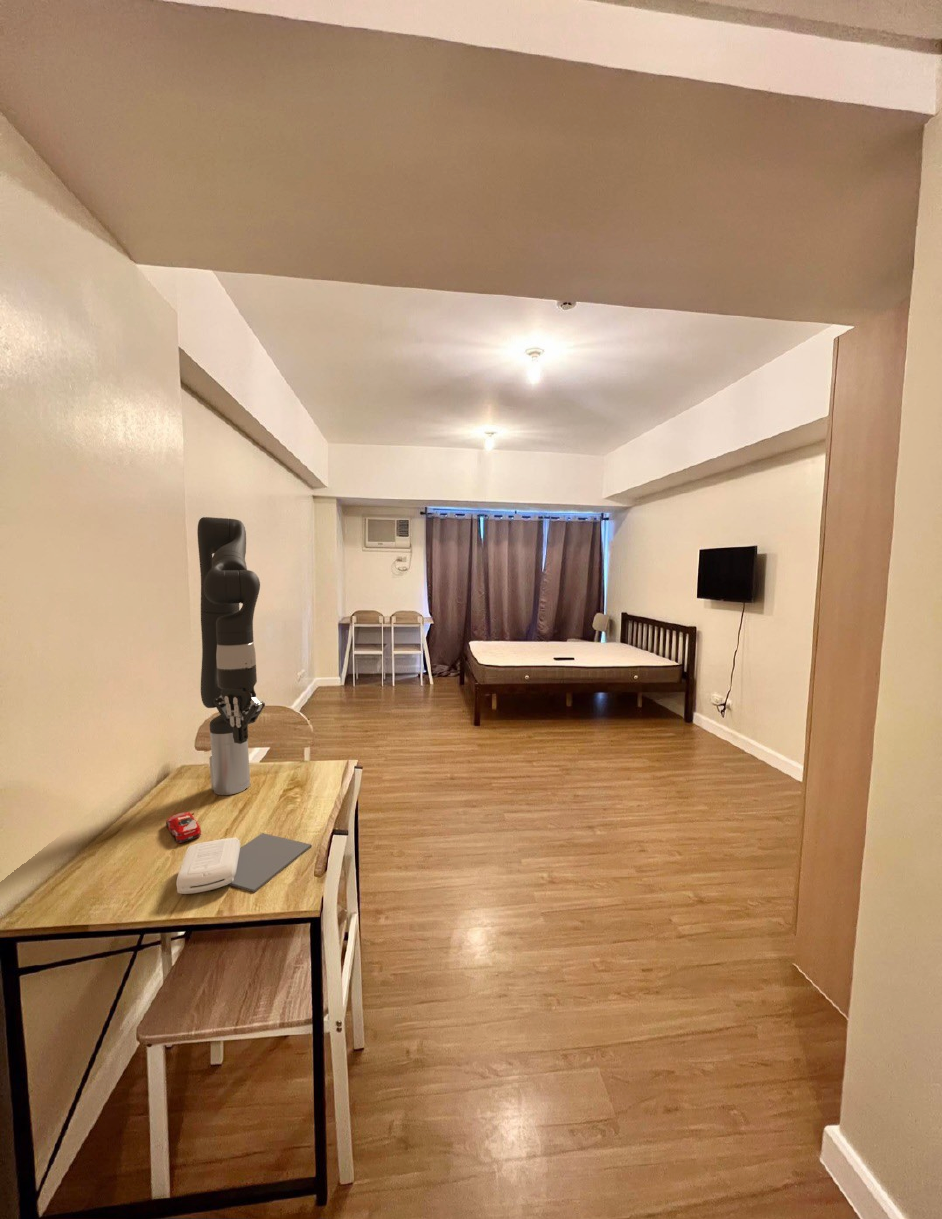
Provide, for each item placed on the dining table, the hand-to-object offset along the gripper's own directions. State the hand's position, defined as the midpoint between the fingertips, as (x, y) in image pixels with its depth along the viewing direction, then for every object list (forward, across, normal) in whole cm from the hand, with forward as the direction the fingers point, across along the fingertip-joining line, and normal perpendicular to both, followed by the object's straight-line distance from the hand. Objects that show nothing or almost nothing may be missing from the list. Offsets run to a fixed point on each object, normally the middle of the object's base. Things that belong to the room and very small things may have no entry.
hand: (240, 742), depth 104 cm
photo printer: (+21, -2, -7) cm, 22 cm away
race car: (+25, -19, 0) cm, 31 cm away
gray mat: (+24, +7, -3) cm, 25 cm away
